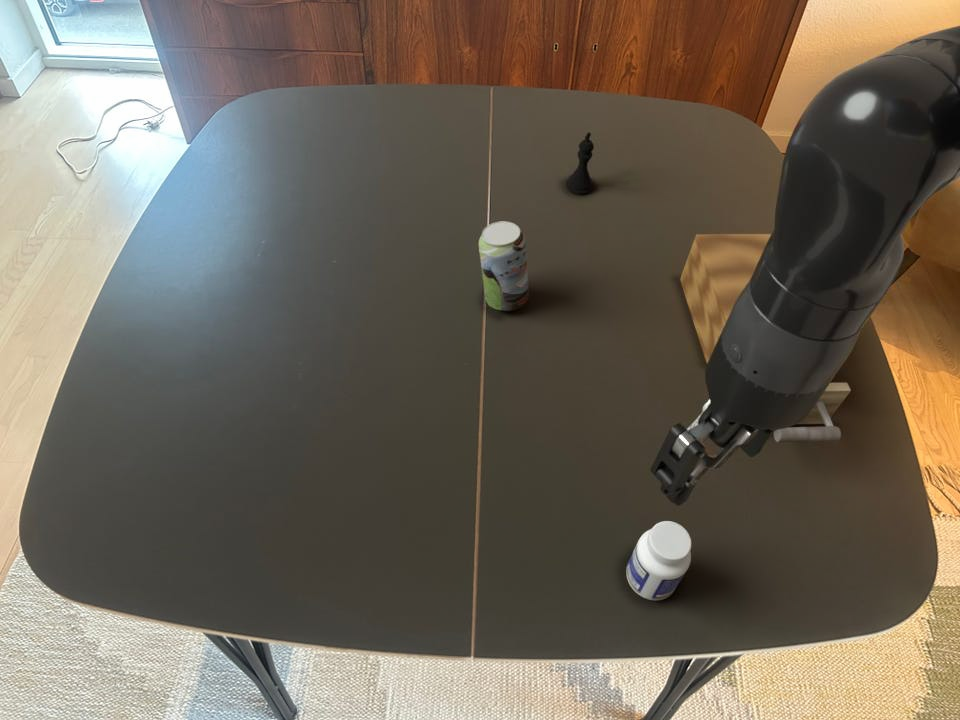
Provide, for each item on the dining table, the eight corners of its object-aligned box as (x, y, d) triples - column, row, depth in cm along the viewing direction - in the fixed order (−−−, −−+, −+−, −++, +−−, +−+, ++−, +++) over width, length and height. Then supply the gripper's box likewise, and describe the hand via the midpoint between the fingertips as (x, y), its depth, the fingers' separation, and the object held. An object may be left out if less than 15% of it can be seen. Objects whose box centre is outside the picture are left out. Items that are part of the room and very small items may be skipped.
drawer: (841, 459, 83) (868, 427, 78) (746, 461, 82) (767, 429, 77) (788, 333, 95) (808, 298, 90) (705, 334, 95) (720, 299, 89)
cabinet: (800, 362, 93) (827, 318, 87) (706, 364, 93) (727, 320, 86) (764, 278, 103) (787, 233, 96) (679, 279, 102) (696, 234, 96)
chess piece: (560, 188, 115) (569, 134, 107) (573, 175, 117) (582, 120, 109) (585, 198, 113) (595, 144, 105) (597, 184, 116) (608, 130, 108)
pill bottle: (680, 563, 75) (703, 525, 68) (670, 609, 72) (694, 574, 65) (631, 545, 76) (649, 507, 69) (619, 590, 73) (637, 554, 66)
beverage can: (520, 322, 96) (528, 256, 87) (469, 308, 97) (472, 241, 88) (533, 290, 100) (542, 224, 90) (484, 277, 101) (487, 211, 92)
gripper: (747, 435, 42) (679, 550, 55) (895, 339, 47) (801, 464, 60) (661, 352, 46) (615, 477, 59) (807, 272, 51) (736, 403, 64)
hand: (709, 470), depth 59 cm, fingers open, 8 cm apart
